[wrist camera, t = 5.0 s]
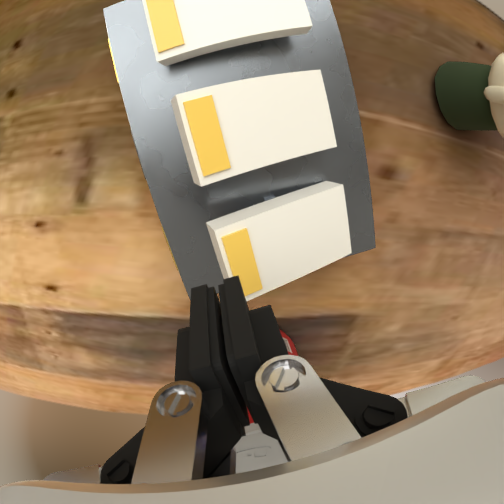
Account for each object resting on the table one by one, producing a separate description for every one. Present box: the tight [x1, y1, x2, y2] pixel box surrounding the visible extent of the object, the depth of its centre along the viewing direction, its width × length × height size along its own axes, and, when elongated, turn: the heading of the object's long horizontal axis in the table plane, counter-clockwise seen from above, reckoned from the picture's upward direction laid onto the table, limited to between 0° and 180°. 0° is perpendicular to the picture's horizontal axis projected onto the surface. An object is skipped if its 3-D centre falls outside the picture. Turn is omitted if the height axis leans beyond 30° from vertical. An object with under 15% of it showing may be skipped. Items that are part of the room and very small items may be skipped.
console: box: [103, 0, 376, 300], centre depth 17 cm, size 12×18×6 cm
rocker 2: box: [171, 70, 337, 187], centre depth 13 cm, size 7×4×2 cm, turn 103°
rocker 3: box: [206, 181, 352, 301], centre depth 16 cm, size 7×4×2 cm, turn 103°
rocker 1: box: [142, 0, 313, 66], centre depth 11 cm, size 7×4×2 cm, turn 104°
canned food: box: [234, 329, 298, 474], centre depth 22 cm, size 8×8×11 cm
